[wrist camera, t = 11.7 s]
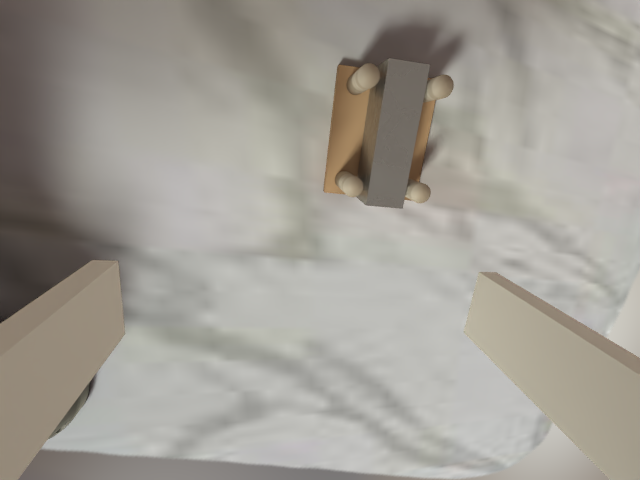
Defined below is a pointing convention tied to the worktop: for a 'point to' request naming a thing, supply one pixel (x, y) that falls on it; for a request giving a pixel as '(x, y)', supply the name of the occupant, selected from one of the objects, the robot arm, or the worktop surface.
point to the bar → (391, 132)
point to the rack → (350, 130)
